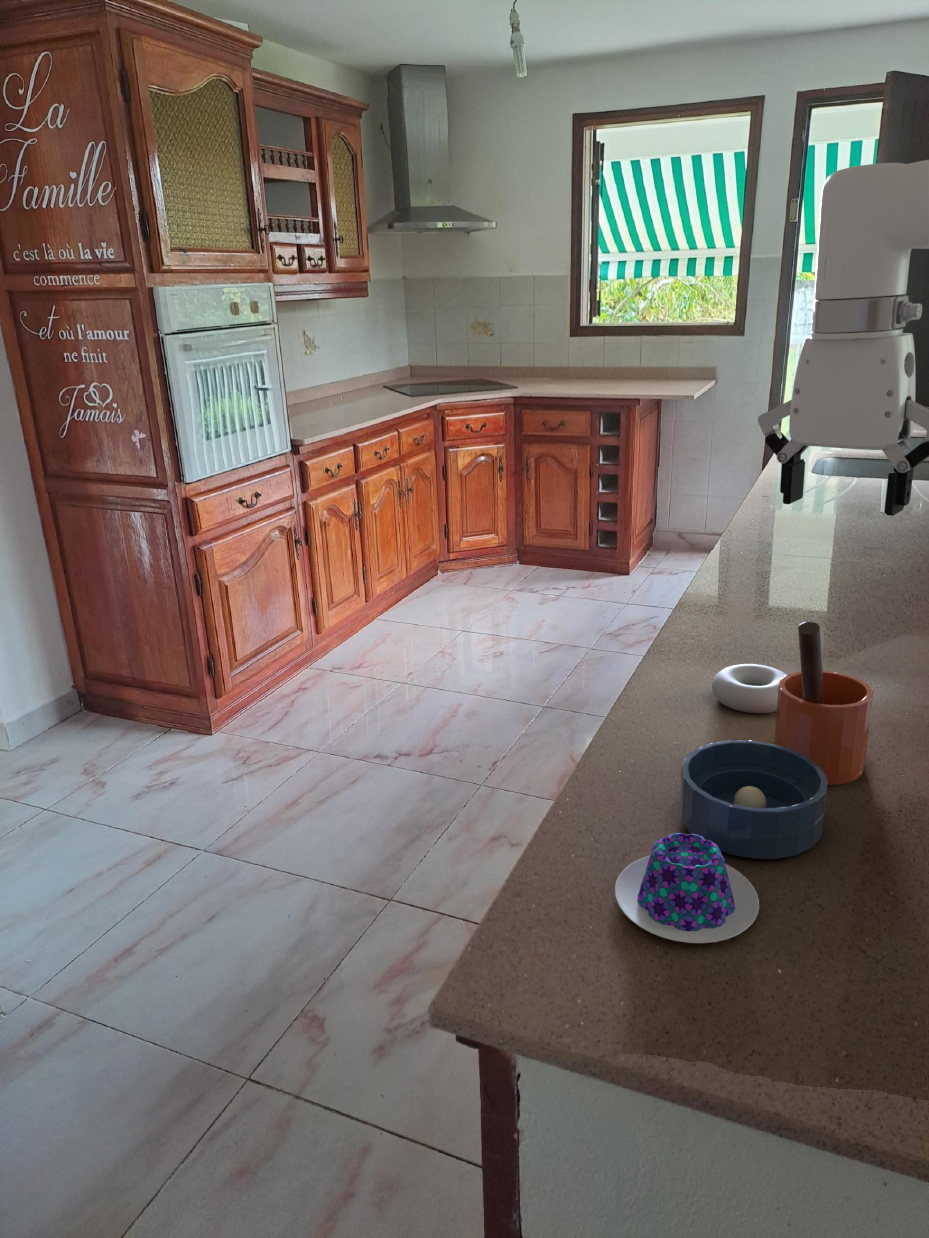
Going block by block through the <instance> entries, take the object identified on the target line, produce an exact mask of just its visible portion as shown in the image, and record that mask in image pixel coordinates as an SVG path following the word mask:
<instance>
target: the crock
mask: <svg viewBox="0 0 929 1238" xmlns="http://www.w3.org/2000/svg"><path fill="white" fill-rule="evenodd" d="M822 672H823V691H824V704H819V703H813V702H809V701H806V700H803V690H802V676H801V670H800V671H794V672H792V673H788V674H786V676H784V677H783V678H782V679H781V680H780V682H779V686H778V699H777V711H775V712H776V713H775V726H774V738H773V744H776V745H779V746H782V747H785V748H788V749H792V750H794V751H796V752H798V753H800V754H802V755H804V756H806V757H808V758H810V759H811V760H812V761H813V762H814V763H816V764H817V765H818V766H819V767H820V768H821V769H822V770H823V772H824V774H825V776H826V778H827V780H828V784H827V786H834V785H835V786H837V785H844V784H849V783H852V782H854V781H856V780H859V778H861V777H862V775H863V774H864V771H865V764H866V757H867V748H868V739H869V732H870V726H871V725H870V724H871V715H872V707H873V700H874V690H873V689H872V688H871V686H870V685H869V684H868V683H866V682H865V681H863V680H861V679H860V678H858V677H855V676H852V675H849V674H845V673H842V672H837V671H832V670H831V671H830V670H824V669H822Z"/></svg>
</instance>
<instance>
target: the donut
mask: <svg viewBox="0 0 929 1238" xmlns="http://www.w3.org/2000/svg"><path fill="white" fill-rule="evenodd" d="M786 675H787V674H786V673H785V672H783V671H781V670H780V669H778V668H774V667H771V666H769V665H768V666H767V665H764V664H756V663H742V664H735V665H730V666H726V667H725V668H723V669H722V670H720V671H718V672H717V673H716V674H715V676H714V678H713V679H712V682H711V690H712V694H713V695H714V697H715V698H716V699H717V700H718V701H719V702H720V703H721V704H722V705H724V706H725V707H728V708H729V709H732V710H735V711H738V712H743V713H749V714H769V713H775V712H776V711H777V699H778V686H779V682H780V680H781V679H782V678H783V677H784V676H786Z"/></svg>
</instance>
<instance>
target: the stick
mask: <svg viewBox="0 0 929 1238" xmlns="http://www.w3.org/2000/svg"><path fill="white" fill-rule="evenodd" d="M797 632H798V633H797V634H798V647H799V648H798V649H799V660H800V661H799V663H800V671H801V676H802V690H803V700H806V701H809V702H813V703H819V704H824V691H823V672H822V670H823V656H822V655H823V654H822V638H821V626H820V624H818V623H817V622H814V621H804V622H802V623H800V624H798V627H797Z"/></svg>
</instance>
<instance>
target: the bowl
mask: <svg viewBox="0 0 929 1238" xmlns="http://www.w3.org/2000/svg"><path fill="white" fill-rule="evenodd" d="M827 784H828V780H827V778H826V776H825V774H824V772H823V770H822V769H821V768H820V767H819V766H818V765H817V764H816V763H814V762H813V761H812V760H811V759H810V758H808V757H806V756H804V755H802V754H800V753H798V752H796V751H794V750H792V749H788V748H785V747H782V746H779V745H776V744H774V743H771V742H765V741H757V740H751V739H748V740H747V739H745V740H742V739H741V740H740V739H737V740H736V739H732V740H731V739H729V740H723V741H716V742H711V743H708V744H705V745H703V746H700V747H697V748H695V749H694V750H693V751H691V752H689V754H687V755H686V756H685V757H684V760H683V762H682V764H681V767H680V787H679V789H680V792H679V814H680V819H681V823H682V824H683V825H684V827H685V828H686V829H687V831H688V832H689V834H697V835H700V836H702V837H703V838H704V839H705V840H709V841H712V842H713V843H715V844H716V845H717V846H718V847H719V849H720V851H721V852H723V853H726V854H728V855H734V856H738V857H741V858H742V857H743V858H747V859H767V860H775V859H776V860H777V859H782V858H789V857H794V856H798V855H800V854H802V853H804V852H806V851H808V850H811V849H812V848H813V847H814V846H815V845H816V844H817V843H818V842H819V840H820V839H822V835H823V828H824V822H825V821H824V819H825V810H826V803H827V802H826V801H827V792H828V785H827ZM746 786H752V787H755V788H758V789H759V790H760V791H761V792H762V793H763V794H764V796H765V798H766V808H751V807H746V806H740V805H735V804H734V797H735V794H736V793H737V791H738V790H740V789H741V788H743V787H746Z"/></svg>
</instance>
